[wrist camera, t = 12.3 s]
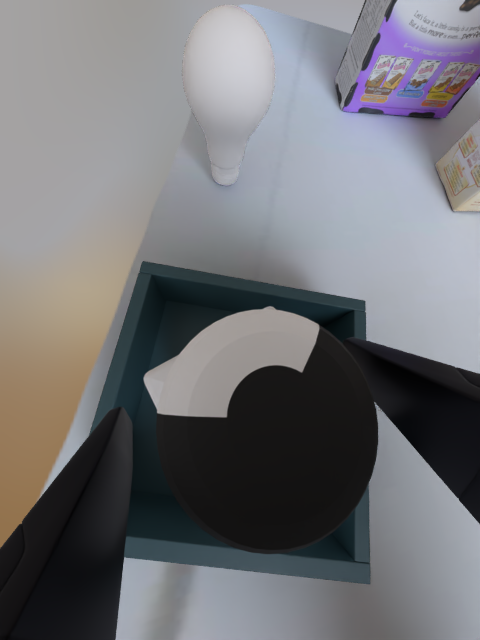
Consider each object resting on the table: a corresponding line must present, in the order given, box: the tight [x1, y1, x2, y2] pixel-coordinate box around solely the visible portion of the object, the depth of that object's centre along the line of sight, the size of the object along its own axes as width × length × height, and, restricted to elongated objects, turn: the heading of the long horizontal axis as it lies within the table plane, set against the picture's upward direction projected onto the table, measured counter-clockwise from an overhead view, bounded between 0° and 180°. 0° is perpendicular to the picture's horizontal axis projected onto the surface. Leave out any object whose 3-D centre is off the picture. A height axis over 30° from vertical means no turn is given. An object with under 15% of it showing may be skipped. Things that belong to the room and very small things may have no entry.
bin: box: [89, 261, 370, 584], centre depth 15 cm, size 15×15×5 cm
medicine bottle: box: [143, 306, 378, 554], centre depth 11 cm, size 7×7×12 cm
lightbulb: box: [182, 5, 275, 186], centre depth 18 cm, size 6×6×11 cm
